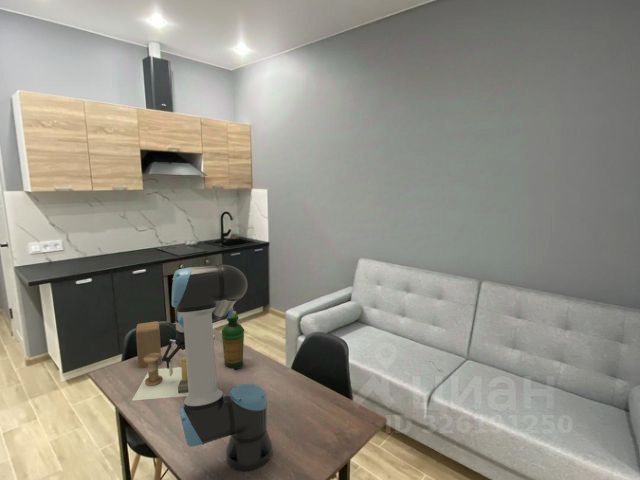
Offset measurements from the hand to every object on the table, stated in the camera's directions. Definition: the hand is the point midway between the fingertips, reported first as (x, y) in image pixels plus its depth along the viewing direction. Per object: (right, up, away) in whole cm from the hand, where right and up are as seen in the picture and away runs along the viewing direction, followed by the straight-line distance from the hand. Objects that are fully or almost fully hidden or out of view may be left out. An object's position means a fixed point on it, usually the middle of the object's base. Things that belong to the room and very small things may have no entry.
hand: (187, 373), depth 157 cm
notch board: (0, -3, +1) cm, 3 cm away
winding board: (-9, -5, -1) cm, 10 cm away
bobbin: (-15, -3, -1) cm, 15 cm away
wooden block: (-25, -2, +17) cm, 30 cm away
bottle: (+17, -2, +16) cm, 23 cm away
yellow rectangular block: (0, -3, +1) cm, 3 cm away
